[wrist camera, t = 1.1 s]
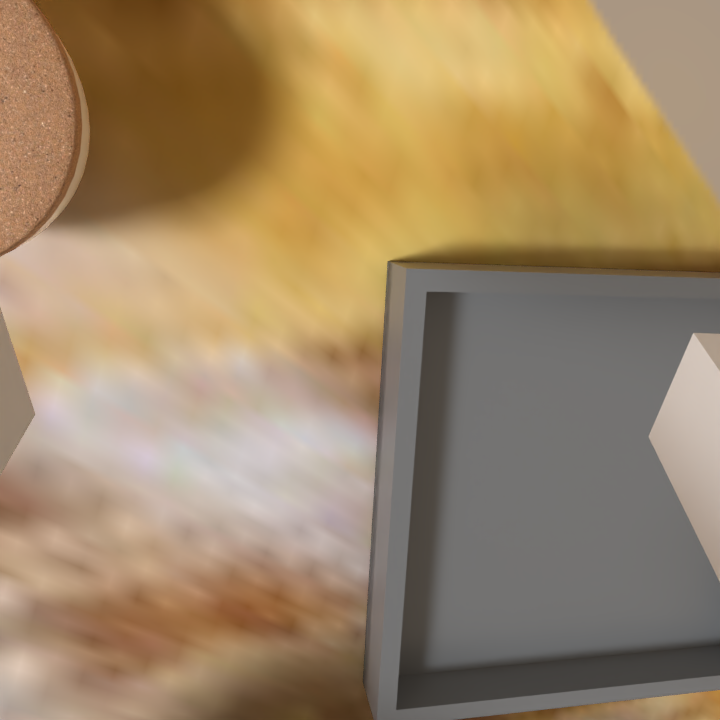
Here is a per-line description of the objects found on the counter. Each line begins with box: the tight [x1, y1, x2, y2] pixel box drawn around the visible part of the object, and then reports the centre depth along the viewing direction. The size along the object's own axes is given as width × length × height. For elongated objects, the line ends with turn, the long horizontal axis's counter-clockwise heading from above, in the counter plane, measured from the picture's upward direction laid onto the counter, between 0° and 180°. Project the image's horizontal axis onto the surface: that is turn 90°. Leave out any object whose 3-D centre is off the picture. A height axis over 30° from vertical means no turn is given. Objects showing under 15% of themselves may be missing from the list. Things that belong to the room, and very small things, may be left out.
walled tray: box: [363, 261, 720, 720], centre depth 36 cm, size 24×24×4 cm
